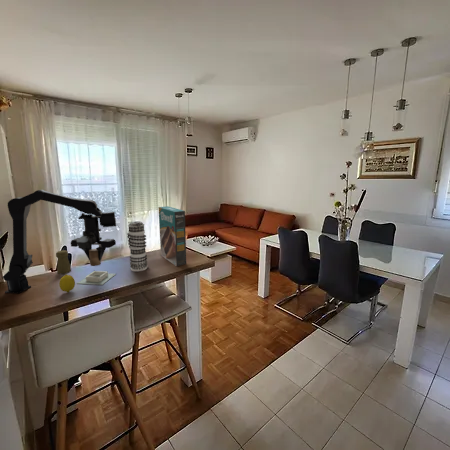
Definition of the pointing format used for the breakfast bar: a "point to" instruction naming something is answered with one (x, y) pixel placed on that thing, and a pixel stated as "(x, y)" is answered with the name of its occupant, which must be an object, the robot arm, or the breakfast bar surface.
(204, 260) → the breakfast bar surface
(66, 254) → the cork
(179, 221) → the cake mix box
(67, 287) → the lemon
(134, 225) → the decorative candle
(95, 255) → the peg
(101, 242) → the robot arm
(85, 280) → the socket
